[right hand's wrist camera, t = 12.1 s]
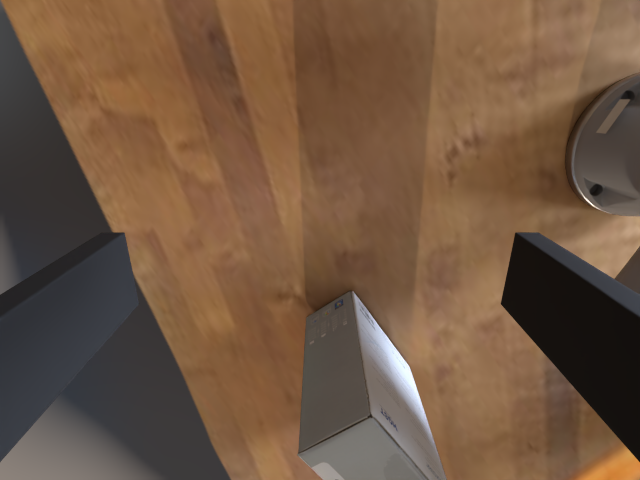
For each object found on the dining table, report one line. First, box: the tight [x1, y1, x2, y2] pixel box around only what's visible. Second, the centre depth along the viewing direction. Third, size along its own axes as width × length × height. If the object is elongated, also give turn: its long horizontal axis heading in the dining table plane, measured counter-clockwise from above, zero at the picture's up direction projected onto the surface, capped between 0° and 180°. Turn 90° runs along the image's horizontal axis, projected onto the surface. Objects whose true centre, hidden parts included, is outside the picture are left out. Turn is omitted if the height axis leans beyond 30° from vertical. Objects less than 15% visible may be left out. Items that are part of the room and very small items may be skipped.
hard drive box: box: [297, 291, 447, 480], centre depth 41 cm, size 16×8×20 cm, turn 35°
